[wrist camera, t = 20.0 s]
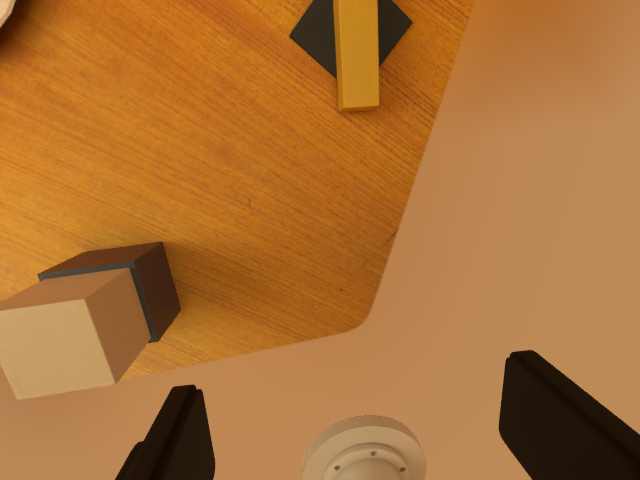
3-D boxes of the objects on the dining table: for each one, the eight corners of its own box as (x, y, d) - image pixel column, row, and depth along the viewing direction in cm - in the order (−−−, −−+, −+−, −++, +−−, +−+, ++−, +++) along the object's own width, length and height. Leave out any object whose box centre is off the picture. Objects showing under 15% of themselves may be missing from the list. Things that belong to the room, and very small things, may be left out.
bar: (329, -67, 26) (333, -94, 23) (366, -68, 26) (375, -95, 23) (338, 112, 30) (343, 108, 27) (371, 110, 30) (379, 105, 27)
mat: (411, 23, 29) (412, 21, 28) (356, 97, 30) (357, 96, 30) (344, -45, 27) (345, -48, 26) (289, 36, 28) (289, 35, 28)
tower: (162, 241, 32) (89, 291, 21) (181, 310, 34) (125, 389, 23) (83, 252, 32) (-36, 308, 20) (107, 321, 34) (12, 407, 23)
